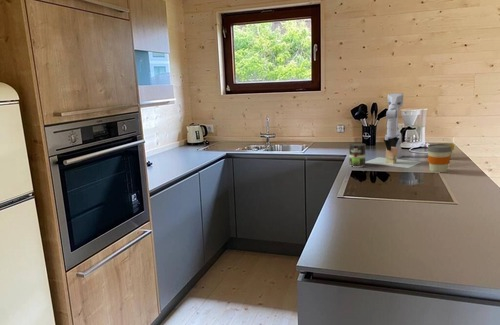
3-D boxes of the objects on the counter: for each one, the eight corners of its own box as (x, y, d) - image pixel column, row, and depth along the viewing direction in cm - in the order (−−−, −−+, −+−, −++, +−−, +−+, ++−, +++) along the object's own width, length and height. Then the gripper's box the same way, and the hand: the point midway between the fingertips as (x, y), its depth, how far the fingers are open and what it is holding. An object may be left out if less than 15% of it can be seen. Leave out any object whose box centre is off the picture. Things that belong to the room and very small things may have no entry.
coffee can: (363, 167, 241) (363, 145, 238) (347, 166, 246) (347, 145, 243) (367, 164, 250) (367, 143, 247) (351, 163, 254) (351, 142, 251)
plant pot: (449, 156, 257) (450, 142, 255) (456, 160, 247) (456, 145, 245) (433, 157, 258) (434, 143, 256) (439, 160, 248) (440, 145, 246)
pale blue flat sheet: (378, 157, 266) (378, 157, 266) (421, 162, 245) (422, 161, 245) (363, 163, 253) (363, 162, 253) (408, 168, 232) (408, 167, 231)
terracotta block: (390, 154, 250) (390, 146, 248) (397, 155, 245) (397, 147, 244) (385, 155, 247) (385, 147, 246) (392, 156, 243) (392, 148, 242)
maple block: (389, 161, 251) (389, 154, 250) (396, 162, 247) (396, 154, 246) (385, 162, 248) (385, 155, 247) (392, 163, 244) (393, 156, 243)
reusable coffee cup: (453, 173, 216) (454, 147, 212) (429, 173, 218) (430, 148, 215) (446, 168, 228) (448, 143, 224) (424, 168, 230) (425, 144, 227)
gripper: (391, 126, 251) (390, 147, 253) (380, 129, 241) (379, 150, 244) (401, 127, 245) (400, 148, 248) (390, 130, 236) (390, 151, 239)
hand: (391, 149), depth 246 cm, fingers open, 6 cm apart
